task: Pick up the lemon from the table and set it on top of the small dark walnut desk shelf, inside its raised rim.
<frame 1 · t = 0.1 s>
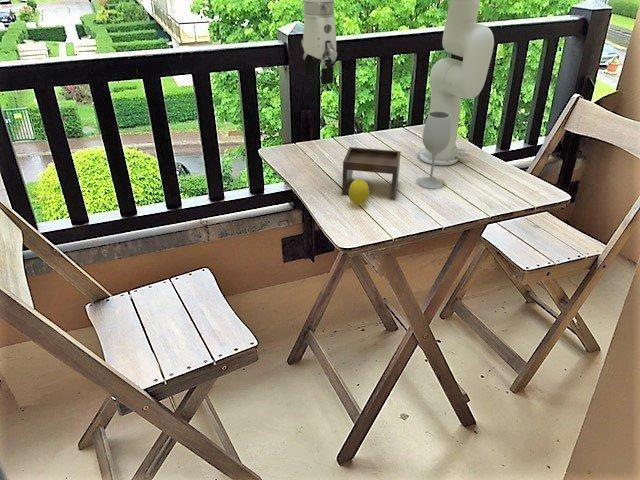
hand: (318, 79, 139), 31 cm above the table, tool pointing down, fingers open, 9 cm apart
wineglass: (430, 184, 158), on the table
shelf: (370, 188, 154), on the table
lemon: (358, 206, 145), on the table
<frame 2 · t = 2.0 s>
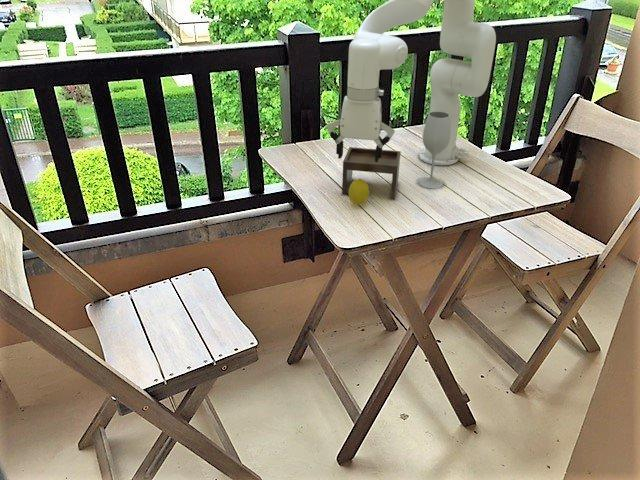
hand: (358, 158, 138), 14 cm above the table, tool pointing down, fingers open, 9 cm apart
nothing on the table moved.
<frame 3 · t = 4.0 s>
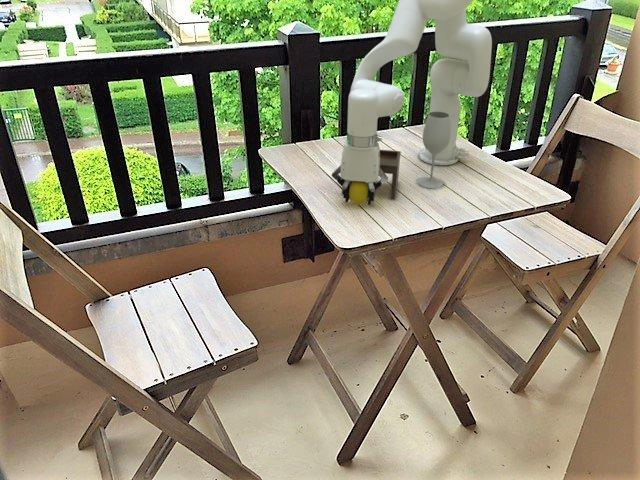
hand: (358, 201, 145), 1 cm above the table, tool pointing down, fingers closed on lemon, 5 cm apart
lemon: (358, 206, 145), on the table, touching gripper
everything else where it was.
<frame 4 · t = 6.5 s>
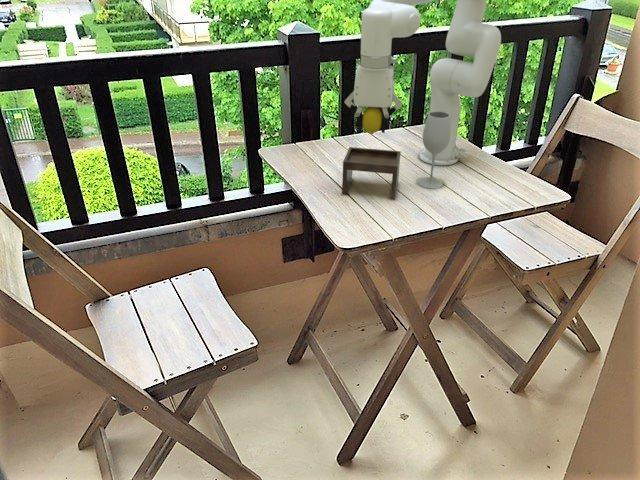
hand: (371, 129, 142), 19 cm above the table, tool pointing down, fingers closed on lemon, 5 cm apart
lemon: (371, 135, 143), point 17 cm above the table, touching gripper
everything else where it was.
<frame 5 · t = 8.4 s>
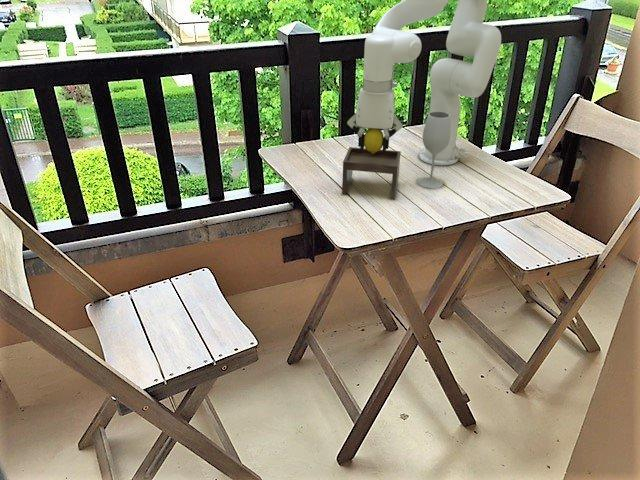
hand: (373, 149, 148), 12 cm above the table, tool pointing down, fingers closed on lemon, 5 cm apart
lemon: (372, 154, 148), point 11 cm above the table, touching gripper
everything else where it was.
when the fingers open (10 cm above the table, at t = 9.4 s): lemon stays where it is, resting on shelf.
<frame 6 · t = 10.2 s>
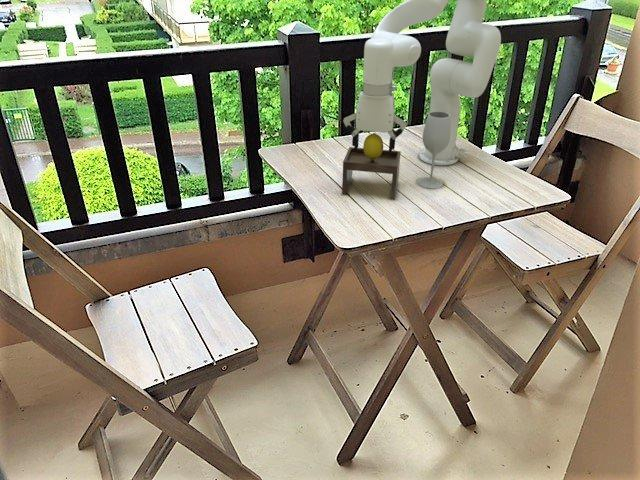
hand: (373, 149, 148), 12 cm above the table, tool pointing down, fingers open, 9 cm apart
lemon: (372, 160, 149), point 9 cm above the table, touching shelf
everything else where it was.
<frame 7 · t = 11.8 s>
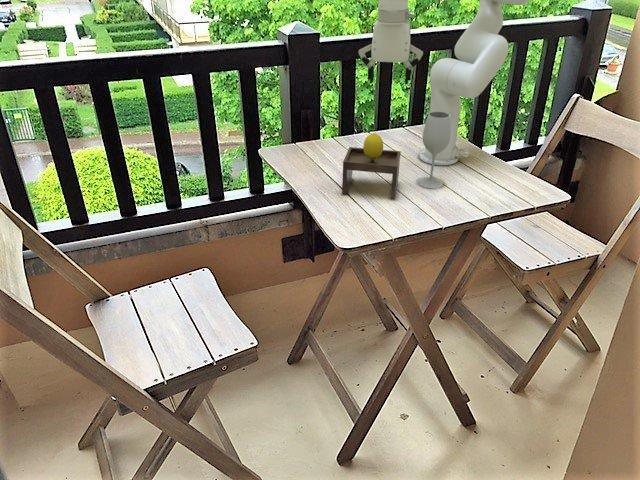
hand: (388, 82, 146), 29 cm above the table, tool pointing down, fingers open, 9 cm apart
nothing on the table moved.
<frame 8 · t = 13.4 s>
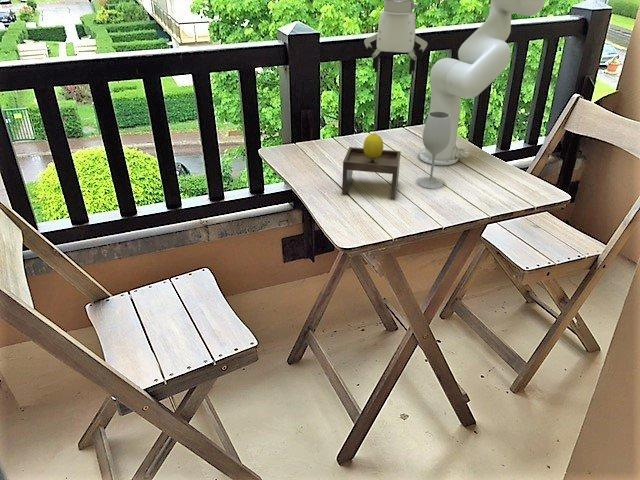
hand: (393, 72, 149), 30 cm above the table, tool pointing down, fingers open, 9 cm apart
nothing on the table moved.
at the end: lemon inside the target area on the shelf (0.0 cm from its centre), point 8.8 cm above the shelf's base; the gripper is holding nothing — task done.
